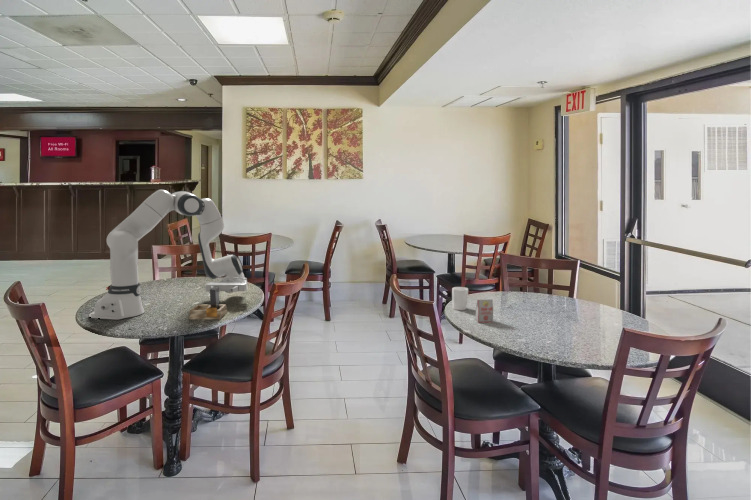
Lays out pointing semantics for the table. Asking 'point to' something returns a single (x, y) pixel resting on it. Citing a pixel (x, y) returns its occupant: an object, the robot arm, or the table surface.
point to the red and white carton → (484, 311)
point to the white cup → (459, 298)
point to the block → (214, 298)
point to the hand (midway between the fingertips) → (222, 290)
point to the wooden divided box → (207, 312)
